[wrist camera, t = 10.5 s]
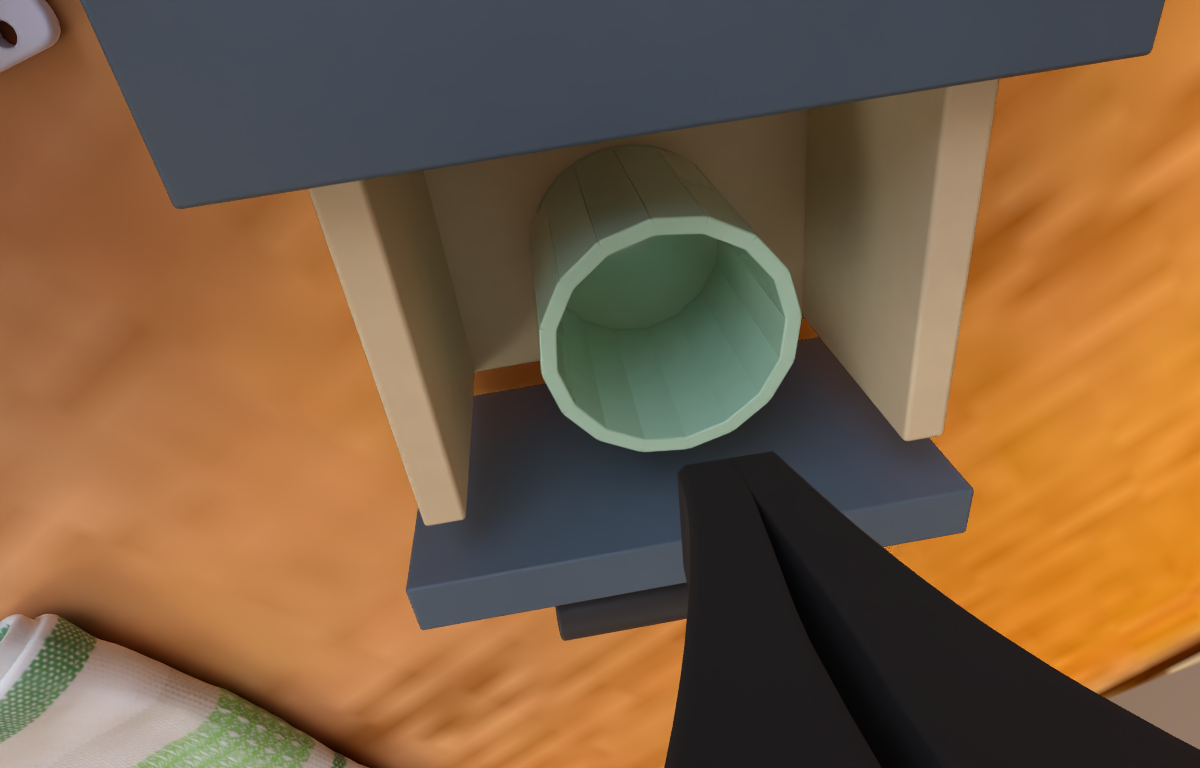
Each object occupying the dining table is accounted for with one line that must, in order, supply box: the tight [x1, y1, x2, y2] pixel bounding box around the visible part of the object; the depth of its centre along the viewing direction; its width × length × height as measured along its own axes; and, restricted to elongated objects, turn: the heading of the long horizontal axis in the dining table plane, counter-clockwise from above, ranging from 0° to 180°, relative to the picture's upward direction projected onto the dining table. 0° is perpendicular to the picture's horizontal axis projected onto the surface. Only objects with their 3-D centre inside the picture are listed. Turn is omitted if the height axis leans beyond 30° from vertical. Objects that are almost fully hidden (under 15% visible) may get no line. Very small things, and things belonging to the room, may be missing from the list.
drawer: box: [308, 79, 999, 641], centre depth 15 cm, size 19×11×7 cm, turn 7°
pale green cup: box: [530, 144, 802, 452], centre depth 15 cm, size 5×5×5 cm
